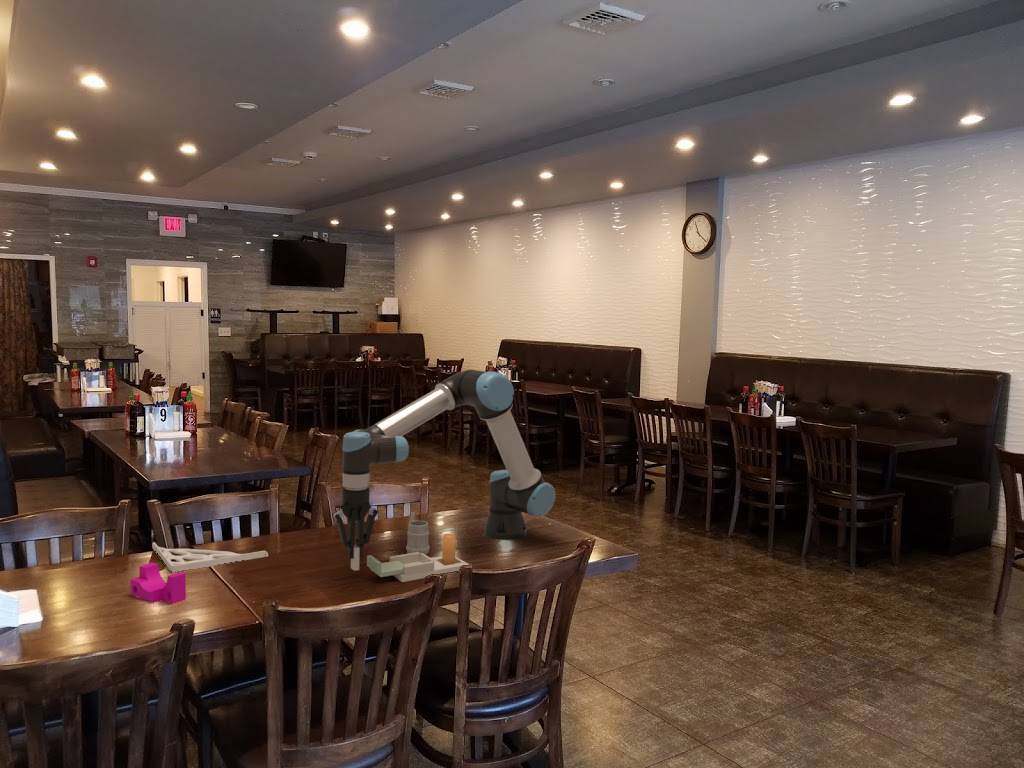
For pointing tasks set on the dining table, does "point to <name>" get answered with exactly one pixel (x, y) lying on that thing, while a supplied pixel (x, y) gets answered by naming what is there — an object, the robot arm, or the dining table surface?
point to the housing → (423, 566)
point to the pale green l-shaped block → (384, 567)
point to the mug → (417, 536)
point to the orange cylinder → (448, 549)
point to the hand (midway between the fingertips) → (354, 568)
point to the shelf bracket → (201, 557)
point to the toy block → (158, 585)
